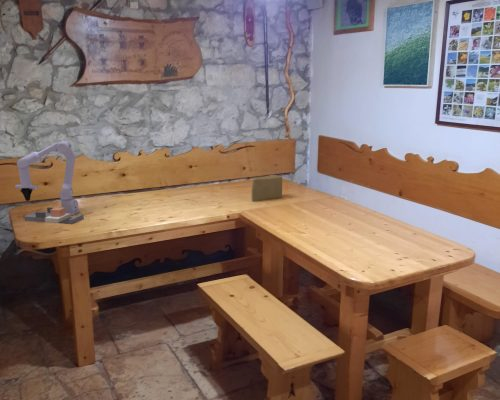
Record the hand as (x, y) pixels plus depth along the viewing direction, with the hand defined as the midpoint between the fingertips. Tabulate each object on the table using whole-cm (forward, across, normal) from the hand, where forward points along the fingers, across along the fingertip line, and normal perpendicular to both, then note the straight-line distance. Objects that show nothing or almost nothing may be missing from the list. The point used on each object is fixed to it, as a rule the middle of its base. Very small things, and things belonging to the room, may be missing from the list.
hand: (27, 200), depth 302 cm
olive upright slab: (+10, -129, -72) cm, 148 cm away
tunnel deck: (+9, -20, +4) cm, 22 cm away
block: (+7, -23, +3) cm, 24 cm away
